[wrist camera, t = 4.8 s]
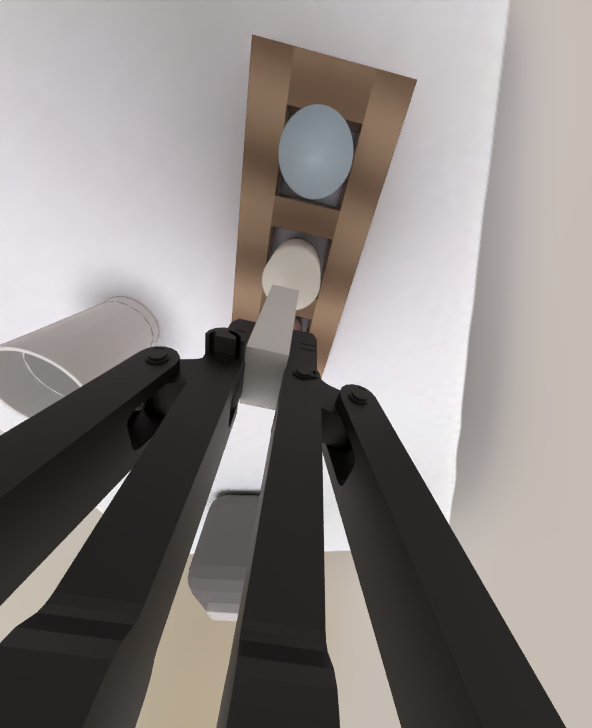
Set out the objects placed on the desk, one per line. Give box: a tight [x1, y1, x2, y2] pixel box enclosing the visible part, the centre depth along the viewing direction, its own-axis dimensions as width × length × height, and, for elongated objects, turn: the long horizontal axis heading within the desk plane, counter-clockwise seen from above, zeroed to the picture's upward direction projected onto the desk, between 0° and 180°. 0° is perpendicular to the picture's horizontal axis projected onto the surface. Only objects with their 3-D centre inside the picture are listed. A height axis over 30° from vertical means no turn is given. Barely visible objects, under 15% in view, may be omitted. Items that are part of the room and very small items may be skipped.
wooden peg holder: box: [232, 35, 417, 377], centre depth 24 cm, size 24×10×3 cm, turn 169°
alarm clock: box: [188, 495, 260, 621], centre depth 44 cm, size 16×11×16 cm
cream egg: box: [262, 239, 320, 310], centre depth 20 cm, size 4×4×5 cm
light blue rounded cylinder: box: [278, 104, 353, 199], centre depth 16 cm, size 4×4×5 cm
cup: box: [0, 297, 159, 419], centre depth 25 cm, size 8×8×12 cm
